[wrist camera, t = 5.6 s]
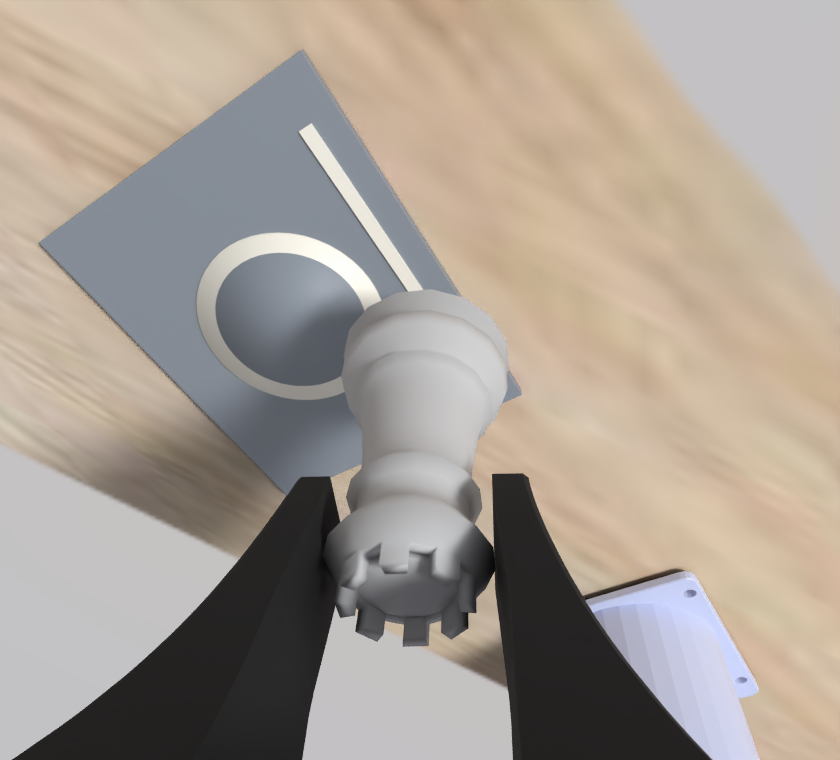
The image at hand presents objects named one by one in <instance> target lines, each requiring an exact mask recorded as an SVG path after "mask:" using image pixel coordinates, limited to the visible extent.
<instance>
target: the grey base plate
mask: <svg viewBox="0 0 840 760" xmlns="http://www.w3.org/2000/svg"><path fill="white" fill-rule="evenodd" d="M39 244H40V245H41V246H42V247H43V248H44V249H45V250H46V251H47V252H48V253H49V254H50V255H51V256H52V257H53V258H54V259H55V260H56V261H57V262H58V263H59V264H60V265H61V266H62V267H63V268H64V269H65V270H66V271H67V272H68V273H69V274H70V275H71V276H72V277H73V278H74V279H75V280H76V281H77V282H78V283H79V284H80V285H81V286H82V287H83V289H84V290H85V291H86V292H87V293H88V294H89V295H90V296H91V297H92V298H93V299H94V300H95V301H96V302H97V303H98V304H99V305H100V306H101V307H102V308H103V309H104V310H105V311H106V312H107V313H108V314H109V315H110V316H111V317H112V318H113V319H114V320H115V321H116V322H117V323H118V324H119V325H120V326H121V327H122V328H123V329H124V330H125V331H126V332H127V333H128V334H129V335H130V336H131V337H132V339H133V340H134V341H135V342H136V343H137V344H138V345H139V346H140V347H141V348H142V349H143V350H144V351H145V352H146V353H147V354H148V355H149V356H150V357H151V358H152V359H153V360H154V361H155V362H156V363H157V364H158V365H159V366H160V367H161V368H162V369H163V370H164V371H165V372H166V373H167V374H168V375H169V376H170V377H171V378H172V379H173V380H174V381H175V382H176V383H177V384H178V385H179V386H180V387H181V388H182V390H183V391H184V392H185V393H186V394H187V395H188V396H189V397H190V398H191V399H192V400H193V401H194V402H195V403H196V404H197V405H198V406H199V407H200V408H201V409H202V410H203V411H204V412H205V413H206V414H207V415H208V416H209V417H210V418H211V419H212V420H213V421H214V422H215V423H216V424H217V425H218V426H219V427H220V428H221V429H222V430H223V431H224V432H225V433H226V434H227V435H228V436H229V437H230V438H231V439H232V441H233V442H234V443H235V444H236V445H237V446H238V447H239V448H240V449H241V450H242V451H243V452H244V453H245V454H246V455H247V456H248V457H249V458H250V459H251V460H252V461H253V462H254V463H255V464H256V465H257V466H258V467H259V468H260V469H261V470H262V471H263V472H264V473H265V474H266V475H267V476H268V477H269V478H270V479H271V480H272V481H273V482H274V483H275V484H276V485H277V486H278V487H279V488H280V489H281V490H282V492H283V493H284V494H285V495H286V496H287V495H288V493H289V492H290V490H291V489H292V487H293V486H294V484H295V483H296V482H297V480H298V479H299V478H301V477H321V476H330V477H332V476H335V475H337V474H339V473H342V472H344V471H346V470H349V469H351V468H353V467H356V466H358V465H360V464H362V430H361V428H360V427H359V426H358V425H357V422H356V418H355V415H354V414H353V413H352V412H351V410H350V409H349V406H348V402H347V398H346V394H345V391H344V387H343V383H342V378H341V374H342V369H343V365H344V351H345V347H346V342H347V338H348V333H349V330H350V328H351V327H352V326H353V325H354V323H355V322H356V321H357V320H358V319H359V317H360V316H361V315H362V314H363V313H364V311H365V310H366V309H367V308H368V307H369V306H371V305H373V304H375V303H377V302H379V301H381V300H383V299H385V298H387V297H389V296H391V295H393V294H395V293H399V292H409V291H418V290H428V289H432V290H436V291H440V292H444V293H448V294H452V295H456V296H460V297H461V295H460V293H459V292H458V290H457V289H456V287H455V286H454V284H453V283H452V281H451V279H450V278H449V276H448V275H447V273H446V272H445V270H444V268H443V267H442V265H441V264H440V262H439V261H438V259H437V258H436V256H435V254H434V253H433V251H432V250H431V248H430V247H429V245H428V243H427V242H426V240H425V239H424V237H423V236H422V234H421V233H420V231H419V229H418V228H417V226H416V225H415V223H414V222H413V220H412V218H411V217H410V215H409V214H408V212H407V211H406V209H405V208H404V206H403V204H402V203H401V201H400V200H399V198H398V197H397V195H396V193H395V192H394V190H393V189H392V187H391V186H390V184H389V183H388V181H387V179H386V178H385V176H384V175H383V173H382V172H381V170H380V168H379V167H378V165H377V164H376V162H375V161H374V159H373V158H372V156H371V154H370V153H369V151H368V150H367V148H366V147H365V145H364V143H363V142H362V140H361V139H360V137H359V136H358V134H357V133H356V131H355V129H354V128H353V126H352V125H351V123H350V122H349V120H348V119H347V117H346V115H345V114H344V112H343V111H342V109H341V108H340V106H339V104H338V103H337V101H336V100H335V98H334V97H333V95H332V94H331V92H330V90H329V89H328V87H327V86H326V84H325V83H324V81H323V79H322V78H321V76H320V75H319V73H318V72H317V70H316V69H315V67H314V65H313V64H312V62H311V61H310V59H309V58H308V56H307V54H306V53H305V51H304V50H303V49H302V50H301V51H299V52H298V53H297V54H295V55H294V56H292V57H291V58H290V59H288V60H287V61H286V62H284V63H283V64H282V65H280V66H279V67H277V68H276V69H275V70H273V71H272V72H271V73H269V74H268V75H267V76H265V77H264V78H262V79H261V80H260V81H258V82H257V83H256V84H254V85H253V86H252V87H250V88H249V89H247V90H246V91H245V92H243V93H242V94H241V95H239V96H238V97H237V98H235V99H234V100H232V101H231V102H230V103H228V104H227V105H226V106H224V107H223V108H222V109H220V110H219V111H217V112H216V113H215V114H213V115H212V116H211V117H209V118H208V119H207V120H205V121H204V122H203V123H201V124H200V125H198V126H197V127H196V128H194V129H193V130H192V131H190V132H189V133H188V134H186V135H185V136H183V137H182V138H181V139H179V140H178V141H177V142H175V143H174V144H173V145H171V146H170V147H168V148H167V149H166V150H164V151H163V152H162V153H160V154H159V155H158V156H156V157H155V158H153V159H152V160H151V161H149V162H148V163H147V164H145V165H144V166H143V167H141V168H140V169H138V170H137V171H136V172H134V173H133V174H132V175H130V176H129V177H128V178H126V179H125V180H123V181H122V182H121V183H119V184H118V185H117V186H115V187H114V188H113V189H111V190H110V191H109V192H107V193H106V194H104V195H103V196H102V197H100V198H99V199H98V200H96V201H95V202H94V203H92V204H91V205H89V206H88V207H87V208H85V209H84V210H83V211H81V212H80V213H79V214H77V215H76V216H74V217H73V218H72V219H70V220H69V221H68V222H66V223H65V224H64V225H62V226H61V227H59V228H58V229H57V230H55V231H54V232H53V233H51V234H50V235H49V236H47V237H46V238H44V239H43V240H42V241H40V242H39ZM507 384H508V389H507V392H506V394H505V397H504V399H503V402H502V403H504V402H506V401H508V400H511V399H513V398H515V397H518V396H520V395H521V389H520V387H519V386H518V384H517V383H516V381H515V379H514V378H513V376H512V375H511V373H510V372H509V370H508V372H507Z"/></svg>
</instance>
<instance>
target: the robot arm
mask: <svg viewBox="0 0 840 760" xmlns="http://www.w3.org/2000/svg"><path fill="white" fill-rule="evenodd" d="M492 487H493V525H494V558H495V567H496V570H495V590H496V599H497V606H498V614H499V622H500V630H501V638H502V645H503V653H504V661H505V669H506V676H507V684H508V692H509V700H510V712H511V724H512V746H513V760H760V759H759V756H758V753H757V750H756V747H755V744H754V742H753V739H752V736H751V733H750V730H749V727H748V724H747V721H746V718H745V715H744V712H743V709H742V707H741V704H740V701H739V698H744V697H748V696H752V695H754V694H756V693H757V692H758V690H759V689H758V686H757V683H756V681H755V679H754V677H753V675H752V674H751V672H750V670H749V668H748V667H747V665H746V663H745V661H744V660H743V658H742V656H741V654H740V653H739V651H738V649H737V647H736V646H735V644H734V642H733V640H732V639H731V637H730V635H729V633H728V632H727V630H726V628H725V626H724V625H723V623H722V621H721V619H720V618H719V616H718V614H717V612H716V611H715V609H714V607H713V605H712V604H711V602H710V600H709V598H708V597H707V595H706V593H705V591H704V590H703V588H702V586H701V584H700V583H699V581H698V579H697V577H696V576H695V575H694V574H693V573H691V572H687V571H682V572H678V573H674V574H671V575H668V576H664V577H661V578H658V579H654V580H651V581H647V582H644V583H641V584H637V585H634V586H631V587H627V588H624V589H621V590H617V591H614V592H611V593H607V594H604V595H600V596H597V597H594V598H590V599H587V600H585V599H584V598H583V596H582V594H581V593H580V591H579V589H578V588H577V586H576V584H575V583H574V581H573V579H572V577H571V576H570V574H569V572H568V570H567V568H566V567H565V565H564V563H563V561H562V559H561V557H560V555H559V553H558V551H557V549H556V547H555V545H554V543H553V541H552V539H551V537H550V535H549V533H548V531H547V529H546V527H545V524H544V522H543V520H542V517H541V515H540V513H539V510H538V508H537V505H536V502H535V499H534V497H533V494H532V490H531V487H530V483H529V478H528V477H527V476H525V475H524V474H492ZM339 523H340V520H339V515H338V510H337V506H336V501H335V497H334V492H333V488H332V483H331V479H330V476H321V477H301V478H299V479H298V480H297V482H296V483H295V484H294V486H293V487H292V489H291V490H290V492H289V493H288V495H287V496H286V497H285V499H284V500H283V502H282V503H281V505H280V506H279V507H278V509H277V510H276V512H275V513H274V514H273V516H272V517H271V519H270V520H269V521H268V523H267V524H266V525H265V527H264V528H263V530H262V531H261V532H260V533H259V535H258V536H257V537H256V539H255V540H254V541H253V542H252V544H251V545H250V546H249V548H248V549H247V550H246V552H245V553H244V554H243V555H242V557H241V558H240V559H239V560H238V562H237V563H236V564H235V565H234V566H233V568H232V569H231V570H230V571H229V572H228V573H227V575H226V576H225V577H224V578H223V579H222V581H221V582H220V583H219V584H218V585H217V586H216V588H215V589H214V590H213V591H212V592H211V593H210V595H209V596H208V597H207V598H206V599H205V600H204V601H203V602H202V603H201V604H200V605H199V607H197V609H196V610H195V611H194V612H193V613H192V614H191V615H190V616H189V617H188V618H187V619H186V620H185V621H184V622H183V623H182V624H181V625H180V626H179V627H178V628H177V629H176V630H175V631H174V632H173V633H172V634H171V635H170V636H169V637H168V638H167V639H166V640H165V641H163V642H162V643H161V644H160V645H159V646H158V647H157V648H156V649H155V650H154V651H153V652H152V653H150V654H149V655H148V656H147V657H146V658H145V659H144V660H143V661H142V662H141V663H139V664H138V665H137V666H136V667H135V668H134V669H133V670H132V671H130V672H129V673H128V674H127V675H126V676H124V677H123V678H122V679H121V680H120V681H118V682H117V683H116V684H115V685H113V686H112V687H111V688H110V689H108V690H107V691H106V692H105V693H103V694H102V695H101V696H100V697H98V698H97V699H96V700H95V701H93V702H92V703H91V704H90V705H88V706H87V707H86V708H85V709H83V710H82V711H81V712H79V713H78V714H77V715H75V716H74V717H73V718H72V719H70V720H69V721H67V722H66V723H64V724H63V725H62V726H60V727H59V728H57V729H56V730H54V731H53V732H52V733H50V734H49V735H47V736H46V737H44V738H43V739H42V740H40V741H39V742H37V743H36V744H34V745H33V746H31V747H30V748H29V749H27V750H26V751H24V752H23V753H21V754H20V755H18V756H17V757H15V758H14V759H12V760H302V756H303V750H304V743H305V737H306V730H307V723H308V717H309V712H310V707H311V702H312V698H313V693H314V689H315V685H316V681H317V677H318V673H319V669H320V665H321V661H322V657H323V653H324V649H325V645H326V641H327V637H328V633H329V629H330V625H331V621H332V617H333V613H334V609H335V603H334V600H335V595H336V589H337V585H336V584H335V583H334V581H333V580H332V578H331V577H330V575H329V572H328V569H327V566H326V564H325V561H324V558H323V552H324V548H325V544H326V540H327V536H328V534H329V533H330V532H331V531H332V530H333V529H334V528H335V527H336V526H337V525H338V524H339Z"/></svg>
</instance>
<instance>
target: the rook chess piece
mask: <svg viewBox="0 0 840 760" xmlns="http://www.w3.org/2000/svg"><path fill="white" fill-rule="evenodd" d="M508 369H509V365H508V352H507V341H506V340H505V338H504V336H503V335H502V333H501V331H500V330H499V328H498V326H497V325H496V323H495V321H494V320H493V318H492V317H491V316H490V315H489V314H487V313H486V312H484V311H483V310H482V309H480V308H479V307H477V306H476V305H474V304H473V303H472V302H470V301H469V300H467V299H466V298H464V297H460V296H456V295H452V294H448V293H444V292H440V291H436V290H432V289H428V290H418V291H409V292H399V293H395V294H393V295H391V296H389V297H387V298H385V299H383V300H381V301H379V302H377V303H375V304H373V305H371V306H369V307H368V308H367V309H366V310H365V311H364V313H363V314H362V315H361V316H360V317H359V319H358V320H357V321H356V322H355V323H354V325H353V326H352V327H351V328H350V330H349V333H348V338H347V342H346V347H345V351H344V365H343V369H342V374H341V378H342V383H343V387H344V391H345V394H346V398H347V402H348V406H349V409H350V410H351V412H352V413H353V414H354V415H355V418H356V422H357V425H358V426H359V427H360V428H361V430H362V468H361V470H360V471H359V472H358V473H357V474H356V475H355V476H354V477H353V478H352V479H351V481H350V485H349V488H348V492H347V496H346V499H347V502H348V505H349V508H350V512H351V514H350V515H348V516H347V517H346V518H344V519H343V520H342V521H341V522H340V523H339V524H338V525H337V526H336V527H335V528H334V529H333V530H332V531H331V532H330V533H329V534H328V536H327V540H326V544H325V548H324V552H323V558H324V561H325V564H326V566H327V569H328V572H329V575H330V577H331V578H332V580H333V581H334V583H335V584H336V585H337V589H336V595H335V600H334V603H335V605H336V608H337V611H338V613H339V616H340V618H342V617H349V616H355V611H356V608H357V609H358V610H359V611H358V618H357V624H356V632H357V633H359V634H362V635H364V636H366V637H368V638H370V639H373V640H375V641H378V640H379V639H380V638H381V636H382V635H383V632H384V623H385V621H388V622H393V623H398V624H403V625H404V634H403V647H405V646H428V645H429V624H431V623H434V622H438V621H441V620H442V622H441V633H443V634H444V635H446V636H447V637H448V638H450V639H453V638H454V637H456V636H457V635H459V634H460V633H462V632H463V631H465V630H466V629H468V613H476V598H477V597H478V596H479V595H480V594H481V593H482V592H483V591H484V590H485V589H486V587H487V585H488V583H489V581H490V579H491V577H492V575H493V574H494V572H495V570H496V567H495V558H494V550H493V546H492V545H491V544H490V543H489V541H488V540H487V539H486V538H485V536H484V535H483V534H482V532H481V531H480V530H479V529H478V527H477V526H476V525H475V522H476V520H477V518H478V516H479V514H480V512H481V509H482V502H481V495H480V489H479V488H478V486H477V485H476V484H475V482H474V481H473V480H472V469H473V463H474V458H475V452H476V447H477V441H478V439H479V438H480V437H482V436H483V435H484V433H485V431H486V429H487V427H488V426H489V425H490V424H491V423H492V422H493V421H494V420H495V418H496V416H497V413H498V411H499V409H500V406H501V404H502V402H503V399H504V397H505V394H506V392H507V389H508V384H507V372H508Z"/></svg>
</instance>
